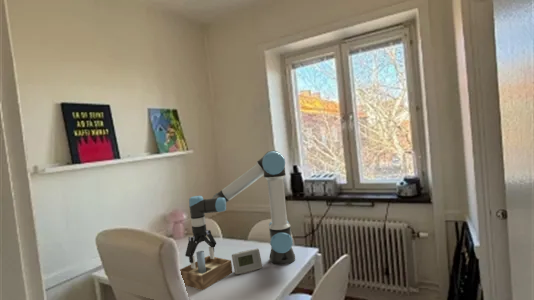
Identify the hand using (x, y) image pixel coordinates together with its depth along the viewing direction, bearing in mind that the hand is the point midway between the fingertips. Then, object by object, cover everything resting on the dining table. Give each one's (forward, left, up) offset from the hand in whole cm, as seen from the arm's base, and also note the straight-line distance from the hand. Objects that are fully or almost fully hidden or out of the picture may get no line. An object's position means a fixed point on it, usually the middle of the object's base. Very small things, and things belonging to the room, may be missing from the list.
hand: (203, 263), depth 175 cm
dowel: (+1, 0, -8) cm, 8 cm away
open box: (-1, 0, -8) cm, 8 cm away
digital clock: (-17, -17, -8) cm, 25 cm away
